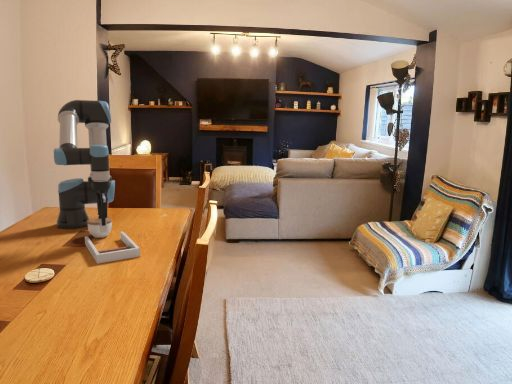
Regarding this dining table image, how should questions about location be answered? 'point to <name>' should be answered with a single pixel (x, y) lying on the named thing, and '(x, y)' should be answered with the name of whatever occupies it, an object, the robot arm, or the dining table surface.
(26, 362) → the dining table surface
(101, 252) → the tray
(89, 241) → the channel
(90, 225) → the lidded jar
